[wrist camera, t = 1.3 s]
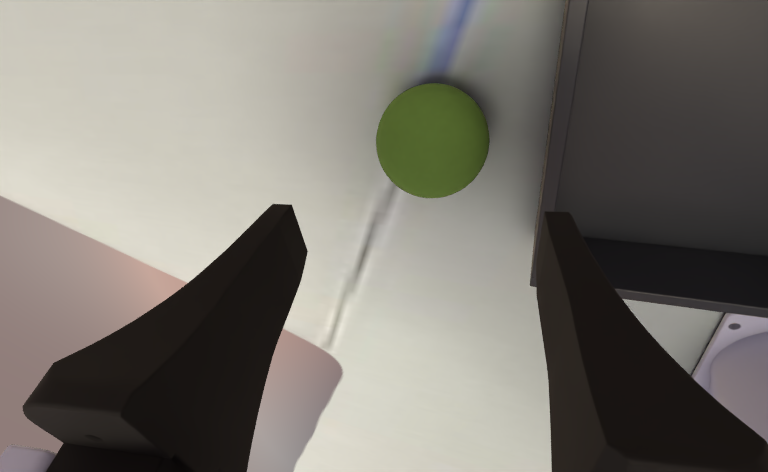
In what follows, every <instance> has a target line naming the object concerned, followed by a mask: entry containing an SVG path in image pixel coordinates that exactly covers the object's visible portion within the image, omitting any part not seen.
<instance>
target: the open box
mask: <svg viewBox="0 0 768 472" xmlns="http://www.w3.org/2000/svg"><path fill="white" fill-rule="evenodd" d="M545 211H549V212H569V213H570V214H571V215H572V216H573V218H574V221H575V223H576V225H577V227H578V229H579V231H580V233H581V235H582V237H583V239H584V241H585V242H586V244H587V246H588V248H589V249H590V251H591V253H592V255H593V256H594V258H595V260H596V261H597V263H598V264H599V266H600V268H601V269H602V271H603V272H604V274H605V275H606V277H607V279H608V280H609V281H610V283H611V284H612V286H613V287H614V289H615V290H616V292H617V293H618V294H619V296H620V297H621V298H622V299H629V300H636V301H644V302H651V303H658V304H666V305H673V306H681V307H688V308H695V309H703V310H710V311H717V312H725V313H732V314H739V315H747V316H754V317H761V318H768V0H566V1H565V8H564V16H563V23H562V31H561V39H560V46H559V54H558V61H557V69H556V76H555V84H554V91H553V99H552V106H551V114H550V122H549V129H548V137H547V144H546V152H545V159H544V167H543V174H542V182H541V190H540V197H539V205H538V212H537V220H536V227H535V235H534V246H533V257H532V267H531V278H530V286H533V287H537V286H536V259H537V253H538V247H539V241H540V235H541V229H542V223H543V217H544V212H545Z"/></svg>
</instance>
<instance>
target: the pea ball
mask: <svg viewBox="0 0 768 472" xmlns="http://www.w3.org/2000/svg"><path fill="white" fill-rule="evenodd" d="M376 147H377V154H378V158H379V161H380V164H381V166H382V168H383V170H384V172H385V173H386V175H387V176H388V177H389V178H390V180H391V181H392V182H393V183H394V184H395V185H396V186H398V187H399V188H400V189H402V190H404V191H405V192H407V193H409V194H412V195H415V196H418V197H423V198H440V197H445V196H448V195H451V194H454V193H456V192H458V191H460V190H462V189H463V188H465V187H466V186H467V185H468V184H469V183H471V182H472V181H473V180H474V179H475V177H476V176H477V175H478V173H479V172H480V170H481V169H482V167H483V165H484V163H485V160H486V158H487V154H488V149H489V131H488V125H487V122H486V119H485V117H484V115H483V113H482V111H481V109H480V108H479V106H478V105H477V103H476V102H475V101H474V100H473V99H472V98H471V97H470V96H469V95H467V94H466V93H464V92H463V91H461V90H459V89H457V88H455V87H452V86H449V85H445V84H438V83H429V84H423V85H419V86H415V87H412V88H410V89H408V90H406V91H405V92H403V93H402V94H400V95H399V96H398V97H396V98H395V99H394V100H393V101H392V102H391V104H390V105H389V106H388V107H387V109H386V110H385V112H384V114H383V115H382V118H381V120H380V122H379V126H378V130H377V136H376Z"/></svg>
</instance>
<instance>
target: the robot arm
mask: <svg viewBox="0 0 768 472" xmlns="http://www.w3.org/2000/svg"><path fill="white" fill-rule="evenodd" d="M307 252H308V251H307V248H306V245H305V242H304V239H303V237H302V234H301V231H300V228H299V225H298V222H297V219H296V216H295V213H294V210H293V207H292V205H283V204H272V205H271V206H270V207H269V208H268V209H267V210H266V211H265V212H264V213H263V214H262V215H261V216H260V217H259V218H258V219H257V220H256V221H255V222H254V223H253V224H252V225H251V226H250V227H249V228H248V229H247V230H246V231H245V232H244V233H243V234H242V235H241V236H240V237H239V238H238V239H237V240H236V241H235V242H234V243H233V244H232V245H231V246H230V247H229V248H228V249H227V250H226V251H225V252H223V253H222V254H221V255H220V256H219V257H218V258H217V259H216V260H214V261H213V262H212V263H211V264H210V265H209V266H208V267H207V268H205V269H204V270H203V271H202V272H201V273H200V274H199V275H197V276H196V277H195V278H194V279H193V280H191V281H190V282H189V283H188V284H186V285H185V286H184V287H182V288H181V289H180V290H178V291H177V292H176V293H175V294H173V295H172V296H170V297H169V298H168V299H166V300H165V301H163V302H162V303H160V304H159V305H157V306H156V307H154V308H153V309H151V310H150V311H148V312H147V313H145V314H144V315H142V316H141V317H139V318H138V319H136V320H135V321H133V322H131V323H130V324H128V325H126V326H124V327H123V328H121V329H119V330H118V331H116V332H114V333H112V334H111V335H109V336H107V337H105V338H103V339H101V340H100V341H97V342H96V343H94V344H92V345H90V346H88V347H86V348H84V349H82V350H79V351H77V352H75V353H73V354H71V355H69V356H67V357H65V358H63V359H61V360H59V361H57V362H55V363H53V365H52V366H51V368H50V369H49V370H48V372H47V373H46V374H45V376H44V377H43V379H42V380H41V381H40V383H39V384H38V386H37V387H36V388H35V390H34V391H33V393H32V394H31V395H30V397H29V398H28V400H27V401H26V402H25V404H24V405H23V411H24V414H25V416H26V417H27V418H28V419H29V420H30V421H32V422H33V423H34V424H36V425H38V426H39V427H40V428H42V429H43V430H45V431H46V432H48V433H50V434H51V435H53V436H54V437H56V438H57V439H59V440H60V441H62V442H63V443H64V444H63V445H62V447H61V448H60V450H59V451H58V453H57V454H56V453H54V452H51V451H48V450H44V449H38V448H32V447H26V446H19V445H9V446H7V448H6V449H5V451H4V452H3V453H2V455H1V456H0V472H247V467H248V460H249V455H250V449H251V444H252V439H253V435H254V430H255V425H256V420H257V415H258V411H259V407H260V403H261V399H262V394H263V390H264V386H265V382H266V378H267V375H268V371H269V367H270V364H271V360H272V356H273V353H274V350H275V347H276V344H277V342H278V339H279V336H280V334H281V331H282V329H283V326H284V324H285V321H286V318H287V316H288V313H289V311H290V308H291V306H292V303H293V300H294V298H295V295H296V292H297V290H298V287H299V284H300V282H301V278H302V274H303V270H304V265H305V261H306V256H307ZM536 286H537V300H538V308H539V315H540V322H541V328H542V335H543V342H544V349H545V355H546V362H547V370H548V380H549V398H550V423H551V454H552V472H768V318H761V317H754V316H747V315H739V314H732V313H726V314H725V315H724V317H723V319H722V321H721V323H720V325H719V327H718V328H717V330H716V332H715V334H714V336H713V338H712V340H711V341H710V343H709V345H708V347H707V349H706V351H705V352H704V354H703V356H702V358H701V360H700V362H699V364H698V365H697V367H696V369H695V371H694V373H693V375H692V377H691V376H690V375H689V374H688V373H687V372H686V371H685V370H684V369H683V368H682V367H681V366H680V365H679V364H678V363H677V362H676V361H675V360H674V359H673V358H672V357H671V356H670V355H669V354H668V353H667V352H666V351H665V350H664V349H663V348H662V347H661V346H660V344H659V343H658V342H657V341H656V340H655V339H654V338H653V337H652V336H651V335H650V333H649V332H648V331H647V330H646V329H645V327H644V326H643V325H642V324H641V323H640V322H639V320H638V319H637V318H636V317H635V315H634V314H633V313H632V312H631V310H630V309H629V308H628V306H627V305H626V304H625V303H624V301H623V300H622V298H621V297H620V296H619V294H618V293H617V292H616V290H615V289H614V287H613V286H612V284H611V283H610V281H609V280H608V279H607V277H606V275H605V274H604V272H603V271H602V269H601V268H600V266H599V264H598V263H597V261H596V260H595V258H594V256H593V255H592V253H591V251H590V249H589V248H588V246H587V244H586V242H585V241H584V239H583V237H582V235H581V233H580V231H579V229H578V227H577V225H576V223H575V221H574V218H573V216H572V215H571V214H570V213H569V212H549V211H545V212H544V217H543V223H542V229H541V235H540V241H539V247H538V253H537V259H536ZM732 323H736V324H732Z"/></svg>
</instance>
